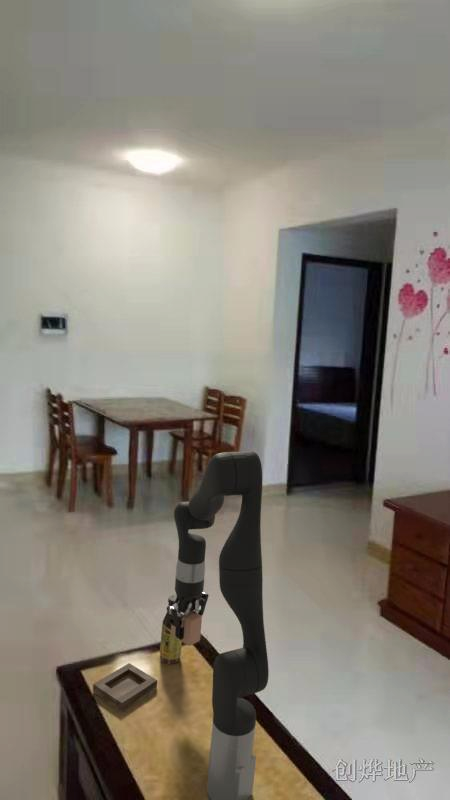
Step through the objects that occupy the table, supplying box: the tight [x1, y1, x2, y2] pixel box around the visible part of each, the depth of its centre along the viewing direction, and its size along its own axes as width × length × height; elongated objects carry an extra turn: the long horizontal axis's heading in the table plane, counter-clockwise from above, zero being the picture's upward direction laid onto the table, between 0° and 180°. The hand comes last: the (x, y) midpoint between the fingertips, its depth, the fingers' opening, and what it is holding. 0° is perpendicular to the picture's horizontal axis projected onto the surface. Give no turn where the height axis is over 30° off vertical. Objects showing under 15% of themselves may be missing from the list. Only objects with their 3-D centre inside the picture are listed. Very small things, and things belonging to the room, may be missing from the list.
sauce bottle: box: [159, 593, 183, 665], centre depth 178 cm, size 6×6×20 cm
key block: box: [171, 611, 203, 647], centre depth 161 cm, size 7×4×7 cm, turn 50°
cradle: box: [92, 662, 158, 713], centre depth 164 cm, size 11×13×2 cm
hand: (185, 634), depth 162 cm, fingers closed on key block, 4 cm apart
